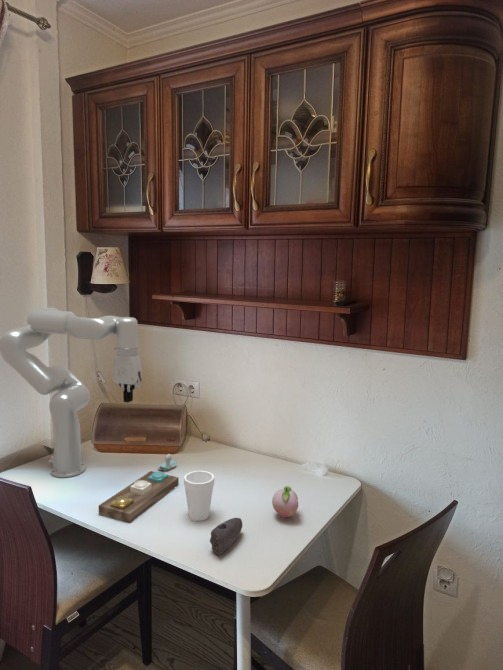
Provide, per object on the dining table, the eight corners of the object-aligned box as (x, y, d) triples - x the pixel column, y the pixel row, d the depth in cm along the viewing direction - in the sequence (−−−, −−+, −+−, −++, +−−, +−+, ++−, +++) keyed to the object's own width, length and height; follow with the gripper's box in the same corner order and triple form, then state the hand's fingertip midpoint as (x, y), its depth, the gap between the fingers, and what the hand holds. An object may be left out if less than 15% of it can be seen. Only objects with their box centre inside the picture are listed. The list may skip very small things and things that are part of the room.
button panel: (98, 514, 151) (98, 505, 151) (150, 478, 177) (150, 471, 176) (129, 523, 147) (129, 514, 146) (178, 485, 172) (178, 477, 172)
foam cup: (201, 526, 145) (201, 486, 143) (178, 517, 150) (177, 479, 148) (219, 513, 153) (219, 475, 151) (196, 505, 158) (197, 468, 156)
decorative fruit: (271, 508, 157) (272, 480, 155) (296, 509, 157) (297, 481, 155) (272, 524, 148) (272, 494, 146) (298, 525, 147) (299, 495, 146)
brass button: (110, 511, 151) (110, 501, 151) (120, 504, 156) (120, 494, 155) (123, 515, 149) (123, 504, 149) (133, 507, 154) (133, 497, 153)
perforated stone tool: (234, 529, 145) (234, 508, 144) (249, 534, 142) (249, 513, 141) (204, 554, 132) (204, 531, 131) (219, 560, 129) (219, 537, 128)
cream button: (130, 494, 160) (130, 484, 160) (139, 488, 165) (139, 478, 164) (142, 498, 158) (142, 487, 158) (151, 491, 163) (151, 481, 162)
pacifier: (154, 470, 185) (165, 473, 181) (153, 454, 184) (165, 457, 181) (166, 463, 191) (178, 466, 188) (166, 448, 190) (177, 451, 187)
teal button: (148, 485, 169) (148, 475, 169) (156, 479, 174) (156, 470, 173) (160, 488, 167) (159, 478, 167) (168, 482, 172) (167, 472, 171)
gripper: (103, 351, 170) (104, 401, 173) (138, 355, 165) (138, 407, 167) (117, 348, 177) (118, 396, 180) (150, 352, 171) (151, 401, 174)
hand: (128, 401), depth 174 cm, fingers closed
